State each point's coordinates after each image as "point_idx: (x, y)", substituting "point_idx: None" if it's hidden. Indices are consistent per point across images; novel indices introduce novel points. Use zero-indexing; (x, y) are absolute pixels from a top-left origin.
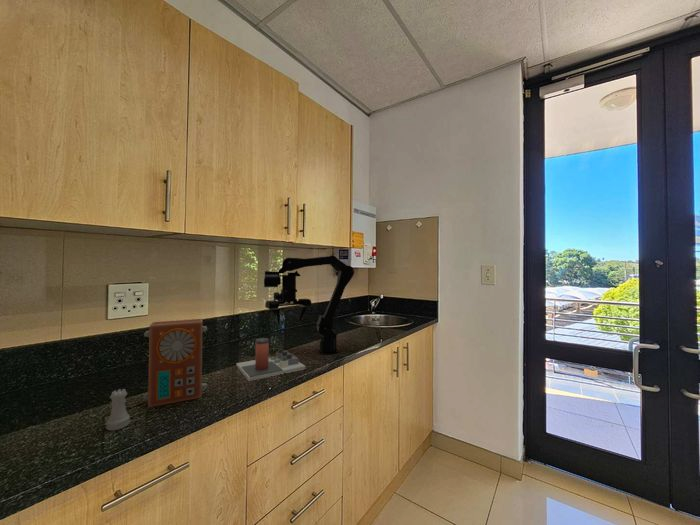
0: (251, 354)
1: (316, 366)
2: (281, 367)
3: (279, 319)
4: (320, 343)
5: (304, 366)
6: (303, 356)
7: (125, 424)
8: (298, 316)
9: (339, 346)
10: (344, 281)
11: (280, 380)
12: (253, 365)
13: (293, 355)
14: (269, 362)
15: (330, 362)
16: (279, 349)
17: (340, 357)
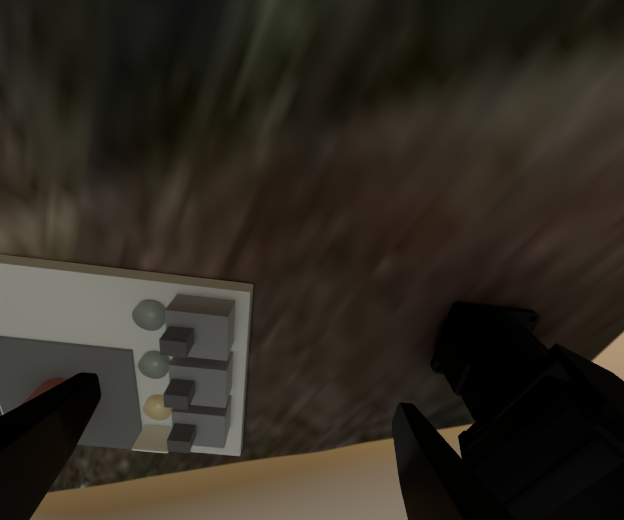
0: (63, 58)
1: (294, 443)
2: (148, 427)
3: (32, 505)
4: (459, 365)
5: (236, 454)
6: (330, 321)
7: None
8: (432, 499)
9: (615, 298)
10: None
11: (127, 466)
12: (33, 352)
13: (224, 406)
14: (114, 360)
15: (365, 441)
16: (164, 354)
17: (443, 424)
